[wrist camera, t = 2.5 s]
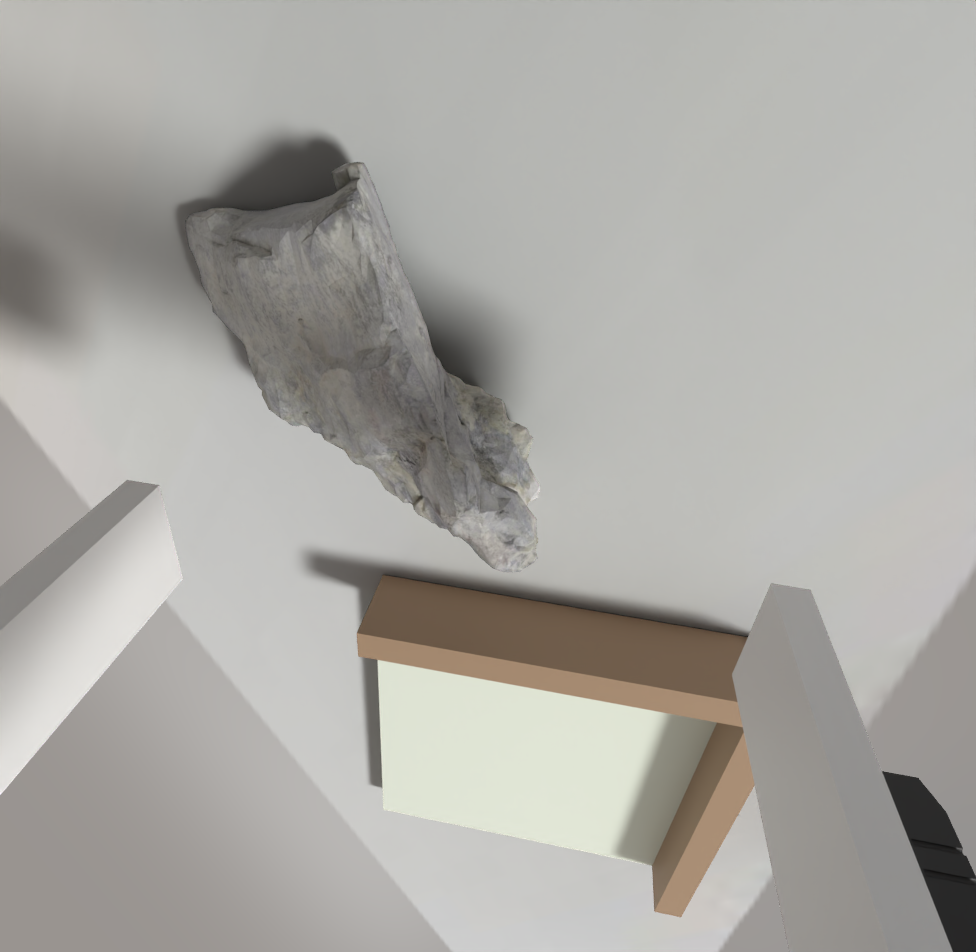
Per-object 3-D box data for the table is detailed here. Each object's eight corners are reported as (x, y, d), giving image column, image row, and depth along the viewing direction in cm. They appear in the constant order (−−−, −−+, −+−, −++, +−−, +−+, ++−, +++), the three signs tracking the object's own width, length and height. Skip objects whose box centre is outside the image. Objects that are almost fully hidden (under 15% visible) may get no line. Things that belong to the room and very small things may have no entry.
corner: (383, 574, 24) (356, 633, 22) (775, 642, 23) (795, 712, 20) (389, 790, 33) (371, 850, 30) (675, 849, 31) (680, 917, 29)
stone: (403, 549, 23) (363, 632, 19) (178, 231, 18) (71, 264, 15) (566, 491, 20) (554, 574, 17) (352, 104, 16) (273, 107, 12)
